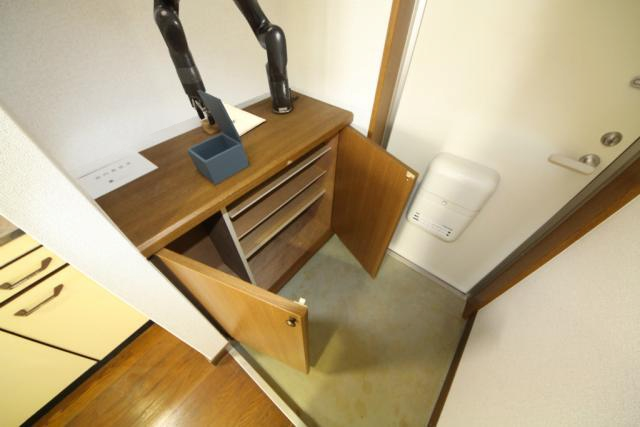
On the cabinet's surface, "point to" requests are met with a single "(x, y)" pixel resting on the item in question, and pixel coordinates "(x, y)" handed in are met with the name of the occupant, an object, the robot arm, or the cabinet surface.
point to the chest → (218, 157)
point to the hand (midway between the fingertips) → (207, 121)
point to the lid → (220, 115)
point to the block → (209, 127)
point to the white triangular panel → (242, 119)
